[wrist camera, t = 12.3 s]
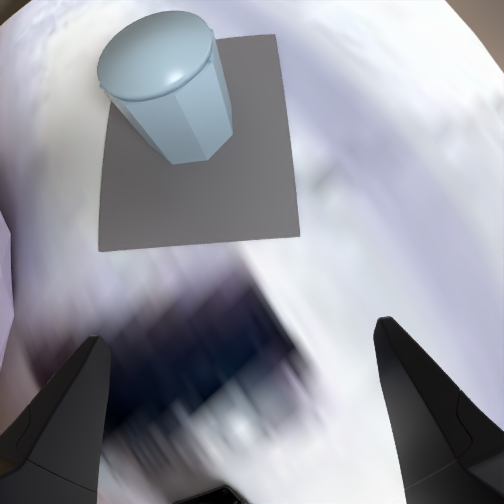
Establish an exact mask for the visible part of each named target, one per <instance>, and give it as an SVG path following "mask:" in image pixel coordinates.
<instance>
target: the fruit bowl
mask: <svg viewBox="0 0 504 504" xmlns="http://www.w3.org/2000/svg"><path fill="white" fill-rule="evenodd" d="M13 318H14V306H13V295H12V280H11V233H10V231H9V229H8V227H7V225H6V223H5V220H4V218H3V216H2V214H1V211H0V371H1V366H2V361H3V357H4V353H5V348H6V344H7V340H8V336H9V333H10V329H11V325H12V322H13Z"/></svg>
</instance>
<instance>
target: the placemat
mask: <svg viewBox="0 0 504 504" xmlns="http://www.w3.org/2000/svg"><path fill="white" fill-rule="evenodd" d="M216 44H217V48H218V52H219V56H220V60H221V65H222V69H223V73H224V77H225V81H226V85H227V89H228V93H229V97H230V101H231V107H232V129H233V135H232V136H231V137H230V138H229V139H228V140H227V141H226V142H225V143H224V144H223V145H222V146H221V147H220V148H219V149H218V150H217V151H216V152H215V153H214V154H213V155H212V156H211V157H210V158H209V160H205V161H197V162H189V163H181V164H174V165H172V164H171V163H170V162H169V161H167V160H166V159H165V158H164V157H163V156H161V155H160V154H159V153H158V152H157V151H155V150H154V149H153V148H152V147H151V146H150V145H149V144H148V143H147V142H146V141H145V140H144V138H143V137H142V136H141V135H140V134H139V132H138V131H137V130H136V129H135V128H134V127H133V125H132V124H131V123H130V122H129V121H128V119H127V118H126V117H125V116H124V115H123V114H122V112H121V111H120V110H119V109H118V108H117V106H116V105H115V104H114V103H113V102H112V101H111V106H110V113H109V119H108V126H107V134H106V141H105V150H104V159H103V169H102V181H101V196H100V215H99V252H106V251H118V250H130V249H142V248H154V247H167V246H180V245H193V244H206V243H219V242H233V241H246V240H260V239H275V238H289V237H300V228H299V217H298V206H297V196H296V186H295V177H294V168H293V159H292V150H291V142H290V133H289V125H288V118H287V110H286V103H285V95H284V88H283V81H282V74H281V68H280V61H279V55H278V48H277V42H276V36H275V34H273V35H257V36H245V37H235V38H226V39H218V40H216Z"/></svg>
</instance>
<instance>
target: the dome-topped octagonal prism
mask: <svg viewBox="0 0 504 504" xmlns="http://www.w3.org/2000/svg"><path fill="white" fill-rule="evenodd" d="M97 74H98V78H99V81H100V82H101V83H100V87H101V89H102V90H103V91H104V92H105V93H106V95H107V96H108V97H109V98H110V99H111V101H112V102H113V103H114V104H115V105H116V106H117V108H118V109H119V110H120V111H121V112H122V114H123V115H124V116H125V117H126V118H127V119H128V121H129V122H130V123H131V124H132V125H133V127H134V128H135V129H136V130H137V131H138V132H139V134H140V135H141V136H142V137H143V138H144V140H145V141H146V142H147V143H148V144H149V145H150V146H151V147H152V148H153V149H154V150H155V151H157V152H158V153H159V154H160V155H161V156H163V157H164V158H165V159H166V160H167V161H169V162H170V163H171V164H172V165H174V164H181V163H189V162H197V161H205V160H209V158H210V157H211V156H212V155H213V154H214V153H215V152H216V151H217V150H218V149H219V148H220V147H221V146H222V145H223V144H224V143H225V142H226V141H227V140H228V139H229V138H230V137H231V136H232V135H233V129H232V107H231V101H230V97H229V93H228V89H227V85H226V81H225V77H224V73H223V69H222V65H221V60H220V56H219V52H218V48H217V44H216V40H215V36H214V32H213V30H212V29H210V28H209V27H208V25H207V23H206V22H205V21H204V20H203V19H202V18H200V17H199V16H197V15H195V14H193V13H189V12H185V11H165V12H159V13H155V14H152V15H149V16H146V17H143V18H141V19H139V20H137V21H135V22H133V23H131V24H130V25H128V26H127V27H125V28H124V29H123V30H121V31H120V32H119V33H118V34H117V35H115V36H114V37H113V39H112V40H111V41H110V42H109V43H108V44H107V46H106V47H105V49H104V50H103V52H102V54H101V56H100V59H99V62H98V66H97Z"/></svg>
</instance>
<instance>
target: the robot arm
mask: <svg viewBox="0 0 504 504" xmlns="http://www.w3.org/2000/svg"><path fill="white" fill-rule="evenodd" d="M373 340H374V346H375V352H376V358H377V365H378V371H379V378H380V383H381V387H382V391H383V395H384V399H385V403H386V407H387V411H388V415H389V419H390V423H391V427H392V432H393V436H394V441H395V445H396V450H397V454H398V459H399V464H400V469H401V474H402V479H403V485H404V489H405V490H404V491H405V497H406V502H407V504H504V431H503V430H502V429H500V428H499V427H498V426H497V425H496V424H495V423H494V422H493V421H492V420H490V419H489V418H488V417H487V416H486V415H485V414H484V413H483V412H482V411H481V410H480V409H479V408H478V407H477V406H476V405H475V404H474V403H473V402H472V401H471V400H470V399H469V398H468V397H467V396H466V395H465V393H464V392H463V391H462V390H460V388H459V387H458V386H457V385H456V384H455V383H454V381H453V380H452V379H451V378H450V377H449V376H448V375H447V374H446V373H445V372H444V371H443V370H442V369H441V367H440V366H439V365H438V364H437V363H436V362H435V361H434V360H433V359H432V358H431V357H430V356H429V355H428V354H427V353H426V352H425V351H424V349H423V348H422V347H421V346H420V345H419V344H418V343H417V342H416V341H415V340H414V339H413V338H412V337H411V336H410V335H409V334H408V333H407V332H406V331H405V330H404V329H403V328H402V327H401V326H400V325H399V324H398V323H397V322H396V321H395V320H394V319H393V318H392V317H390V316H387V317H380V318H379V319H378V320H377V323H376V327H375V330H374V334H373ZM110 368H111V350H110V348H109V346H108V345H107V344H106V342H105V341H104V339H103V338H102V337H101V336H100V335H90V336H89V337H87V339H86V340H85V341H84V342H83V343H82V344H81V345H80V346H79V347H78V348H77V349H76V351H75V352H74V353H73V354H72V355H71V356H70V357H69V358H68V359H67V361H66V362H65V363H64V364H63V365H62V366H61V367H60V368H59V370H58V371H57V372H56V373H55V374H54V375H53V376H52V378H51V379H50V380H49V381H48V382H47V383H46V385H45V386H44V387H43V388H42V389H41V390H40V392H39V393H38V394H37V395H36V396H35V397H34V399H33V400H32V401H31V402H30V404H28V406H27V407H26V408H25V409H24V410H23V412H22V413H21V414H20V415H19V416H18V417H17V419H16V420H15V421H14V422H13V423H12V424H11V425H10V426H9V427H8V428H7V429H6V430H5V431H4V432H3V433H2V434H1V435H0V504H97V487H98V474H99V463H100V453H101V445H102V436H103V429H104V421H105V414H106V408H107V401H108V394H109V382H110ZM223 490H227V491H228V492H225V491H223ZM172 504H247V503H246V502H245V501H243V500H241V499H240V497H239V496H238V495H237V494H236V493H235V492H234V491H233V490H232V489H231V488H230V487H229V486H225V485H224V486H221V487H218V488H216V489H213V490H210V491H208V492H205V493H202V494H199V495H196V496H193V497H190V498H187V499H184V500H181V501H178V502H175V503H172Z"/></svg>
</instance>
